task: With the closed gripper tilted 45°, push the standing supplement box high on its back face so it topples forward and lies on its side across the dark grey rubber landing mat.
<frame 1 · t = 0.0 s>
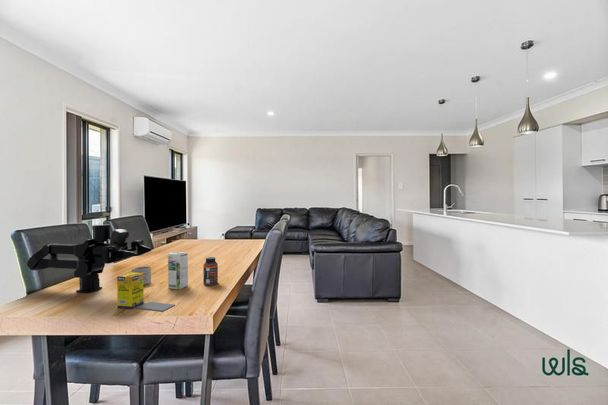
hand: (142, 251, 123), 17 cm above the table, tool horizontal, fingers open, 9 cm apart
syrup box: (178, 287, 132), on the table
grey box: (139, 283, 140), on the table
landing mat: (155, 306, 109), on the table
supplement box: (130, 306, 110), on the table
supplement bottle: (210, 284, 137), on the table
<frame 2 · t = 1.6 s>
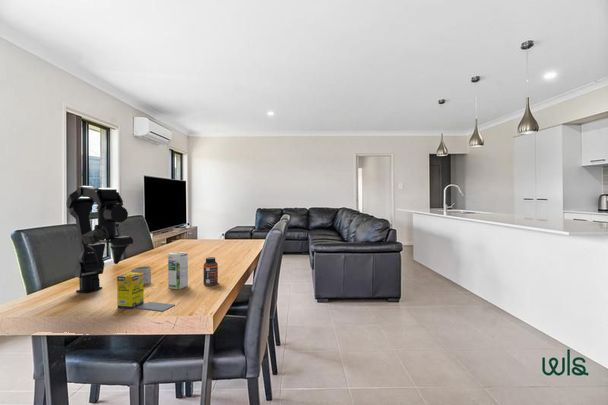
hand: (108, 263, 118), 13 cm above the table, tool pointing down, fingers open, 8 cm apart
nothing on the table moved.
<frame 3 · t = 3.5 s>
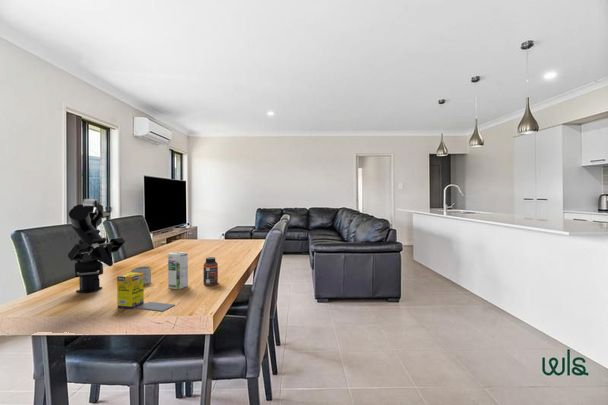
hand: (111, 265, 113), 13 cm above the table, tool tilted 45°, fingers closed
nothing on the table moved.
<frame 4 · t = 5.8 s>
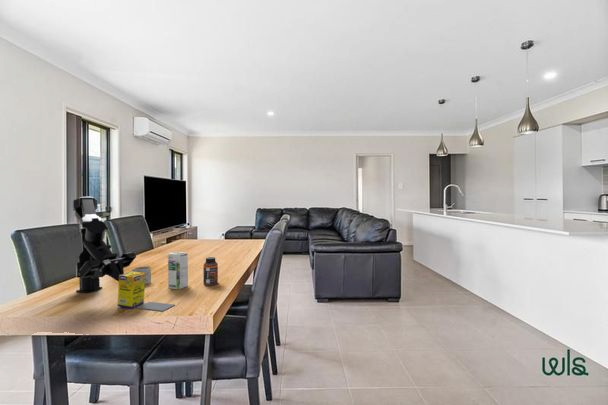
hand: (122, 282, 110), 8 cm above the table, tool tilted 45°, fingers closed
supplement box: (130, 305, 110), on the table, touching gripper
everything else where it was.
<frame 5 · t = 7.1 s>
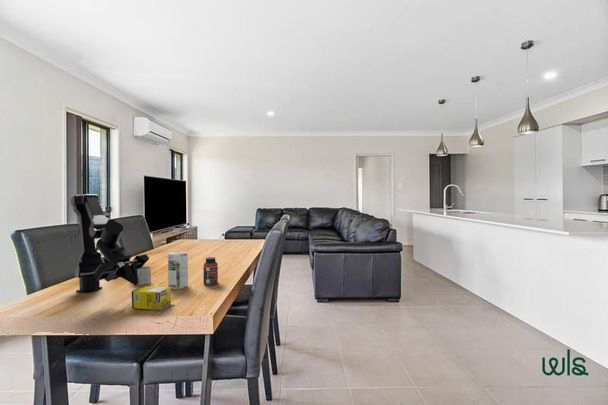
hand: (137, 284, 109), 8 cm above the table, tool tilted 45°, fingers closed
supplement box: (137, 296, 110), point 3 cm above the table, touching landing mat
everything else where it was.
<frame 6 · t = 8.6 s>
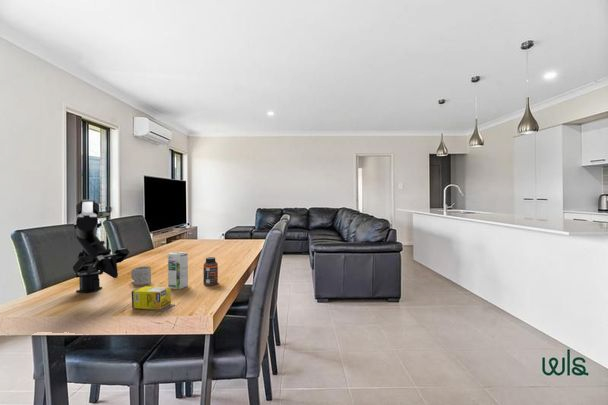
hand: (116, 277, 112), 9 cm above the table, tool tilted 45°, fingers closed
nothing on the table moved.
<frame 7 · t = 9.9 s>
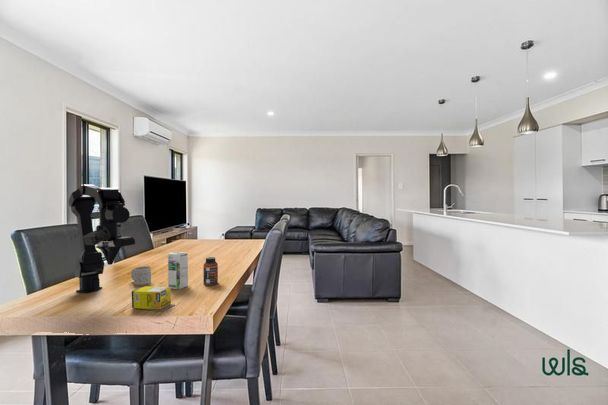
hand: (110, 264, 116), 13 cm above the table, tool pointing down, fingers closed
nothing on the table moved.
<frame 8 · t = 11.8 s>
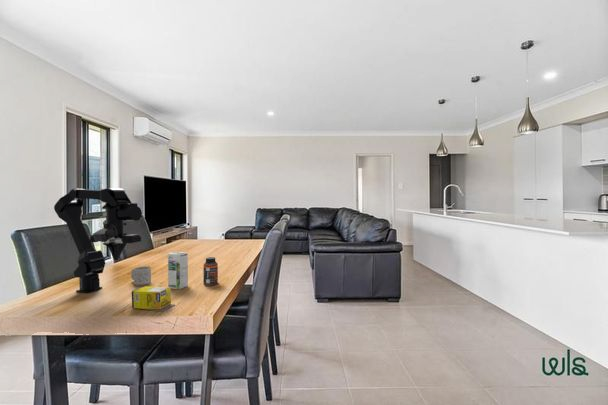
hand: (116, 260, 124), 13 cm above the table, tool pointing down, fingers closed
nothing on the table moved.
at the end: supplement box tilted 89°; supplement box inside the target area (1.9 cm from its centre), point 3.2 cm above the table; the gripper is holding nothing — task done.
